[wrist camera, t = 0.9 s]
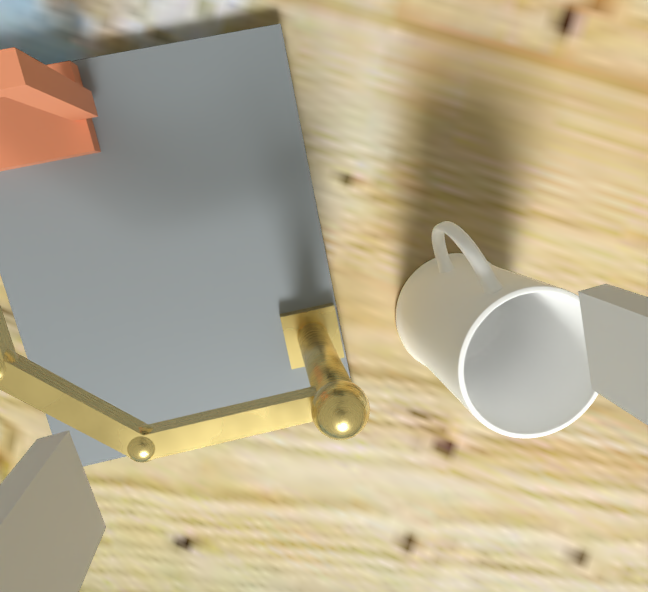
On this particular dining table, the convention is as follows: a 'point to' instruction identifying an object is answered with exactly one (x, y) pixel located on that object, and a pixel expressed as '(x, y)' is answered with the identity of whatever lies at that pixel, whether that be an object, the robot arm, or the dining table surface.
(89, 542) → the robot arm
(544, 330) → the mug
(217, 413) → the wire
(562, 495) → the dining table surface
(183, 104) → the board
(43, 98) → the orange rectangular frame
